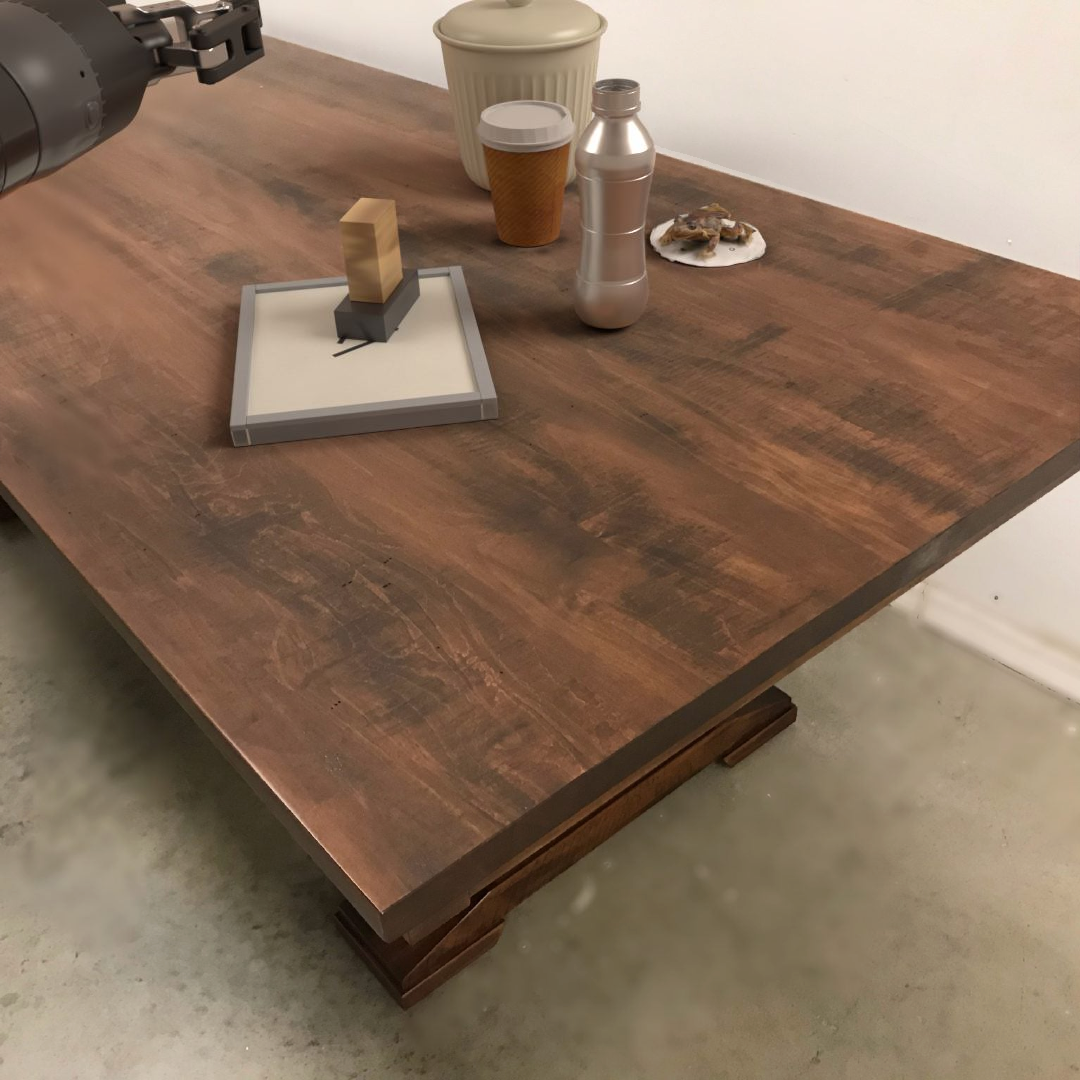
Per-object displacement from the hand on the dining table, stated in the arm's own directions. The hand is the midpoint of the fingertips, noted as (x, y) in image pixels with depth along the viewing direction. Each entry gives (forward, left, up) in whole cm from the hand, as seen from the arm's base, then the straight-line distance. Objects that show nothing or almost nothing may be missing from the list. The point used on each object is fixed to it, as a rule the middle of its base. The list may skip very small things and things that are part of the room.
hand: (185, 6), depth 65 cm
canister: (+27, +47, -30) cm, 62 cm away
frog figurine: (+42, +26, -30) cm, 58 cm away
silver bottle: (+29, +12, -30) cm, 44 cm away
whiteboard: (+7, +10, -30) cm, 33 cm away
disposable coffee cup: (+25, +32, -30) cm, 51 cm away
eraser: (+9, +14, -28) cm, 33 cm away
